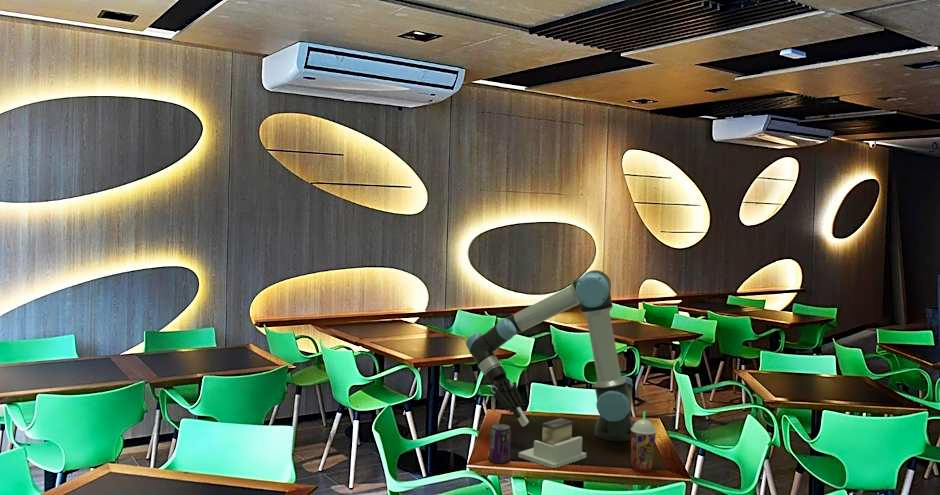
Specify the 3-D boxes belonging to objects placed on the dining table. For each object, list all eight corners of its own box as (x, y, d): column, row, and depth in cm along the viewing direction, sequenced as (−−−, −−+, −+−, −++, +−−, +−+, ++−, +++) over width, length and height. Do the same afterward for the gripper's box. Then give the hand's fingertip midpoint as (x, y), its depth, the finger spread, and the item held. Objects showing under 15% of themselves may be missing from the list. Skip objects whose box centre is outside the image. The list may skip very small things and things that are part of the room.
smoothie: (649, 475, 263) (652, 416, 261) (625, 470, 267) (628, 412, 266) (657, 468, 270) (660, 410, 268) (634, 463, 274) (636, 406, 273)
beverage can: (508, 465, 269) (509, 430, 268) (487, 463, 271) (488, 428, 270) (511, 458, 276) (512, 424, 275) (491, 456, 278) (492, 422, 277)
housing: (518, 456, 278) (519, 435, 277) (551, 445, 290) (551, 425, 290) (553, 469, 266) (554, 447, 266) (586, 457, 279) (587, 436, 278)
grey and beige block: (541, 454, 275) (542, 423, 274) (559, 448, 282) (560, 418, 282) (552, 458, 272) (554, 427, 271) (571, 452, 279) (572, 421, 278)
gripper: (499, 373, 304) (531, 426, 293) (475, 379, 295) (507, 433, 284) (510, 362, 300) (543, 415, 289) (486, 367, 290) (519, 422, 280)
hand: (525, 424), depth 287 cm, fingers closed
